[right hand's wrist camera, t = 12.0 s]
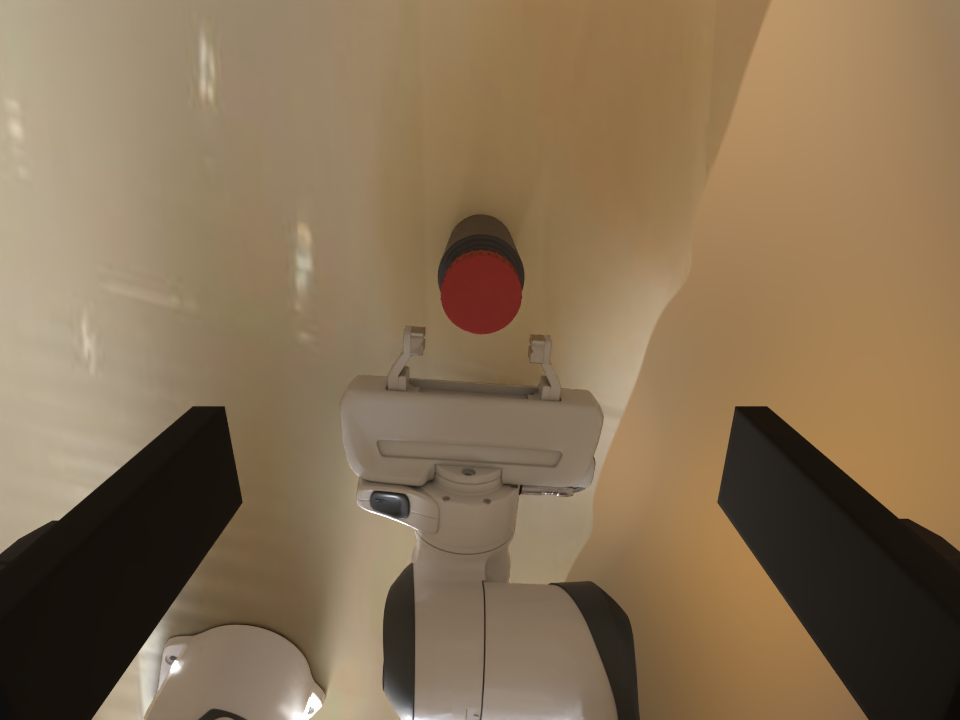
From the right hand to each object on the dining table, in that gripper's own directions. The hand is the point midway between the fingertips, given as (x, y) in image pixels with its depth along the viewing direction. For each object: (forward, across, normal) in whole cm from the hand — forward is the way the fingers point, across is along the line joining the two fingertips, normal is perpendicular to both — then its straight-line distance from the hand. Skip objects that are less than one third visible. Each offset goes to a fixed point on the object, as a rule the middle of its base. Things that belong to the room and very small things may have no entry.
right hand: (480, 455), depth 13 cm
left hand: (+26, 0, +5) cm, 27 cm away
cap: (+17, 0, 0) cm, 17 cm away
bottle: (+33, 0, 0) cm, 33 cm away
